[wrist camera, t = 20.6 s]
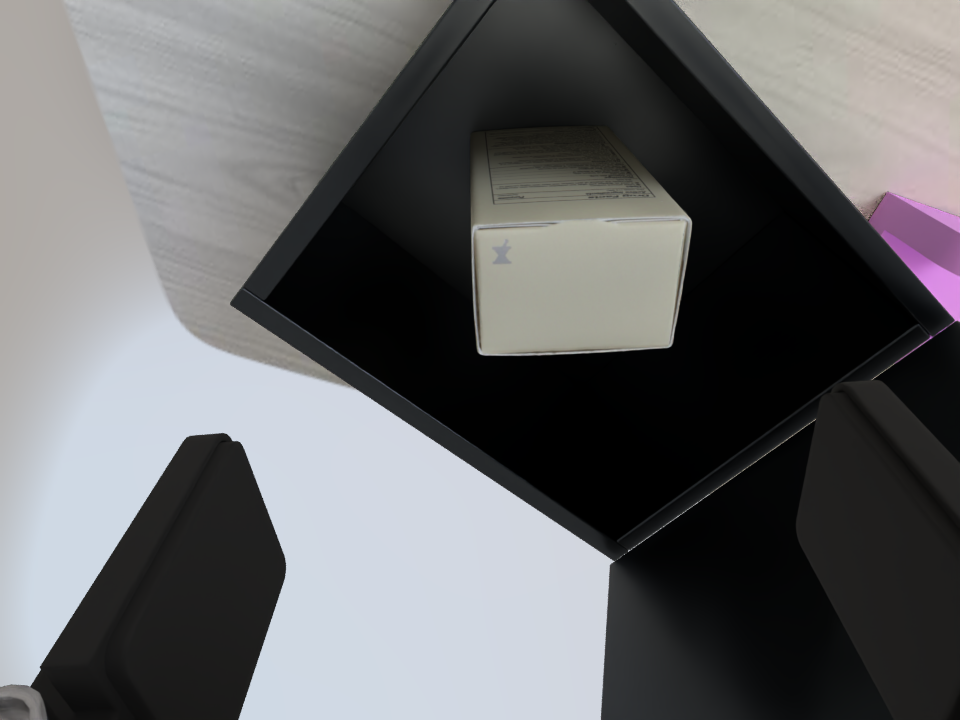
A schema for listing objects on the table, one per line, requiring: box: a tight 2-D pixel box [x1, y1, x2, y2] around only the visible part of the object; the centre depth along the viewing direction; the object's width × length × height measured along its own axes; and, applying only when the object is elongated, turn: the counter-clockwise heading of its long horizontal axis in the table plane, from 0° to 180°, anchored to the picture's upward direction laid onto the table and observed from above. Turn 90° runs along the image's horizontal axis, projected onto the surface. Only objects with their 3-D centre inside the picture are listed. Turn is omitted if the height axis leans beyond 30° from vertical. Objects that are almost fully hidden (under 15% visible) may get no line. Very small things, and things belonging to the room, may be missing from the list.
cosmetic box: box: [470, 126, 692, 356], centre depth 24 cm, size 6×4×12 cm
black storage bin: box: [230, 0, 955, 561], centre depth 26 cm, size 18×15×12 cm
